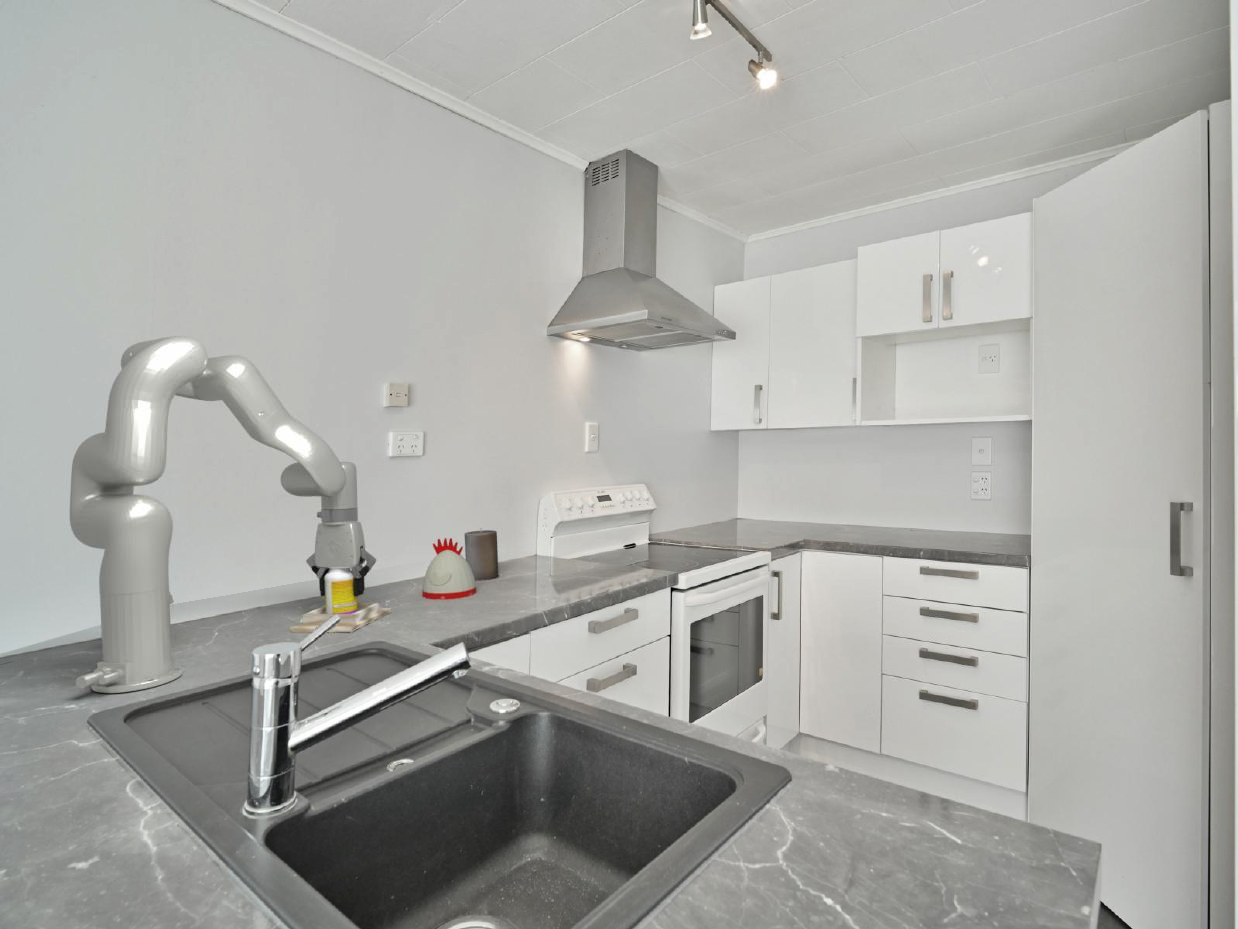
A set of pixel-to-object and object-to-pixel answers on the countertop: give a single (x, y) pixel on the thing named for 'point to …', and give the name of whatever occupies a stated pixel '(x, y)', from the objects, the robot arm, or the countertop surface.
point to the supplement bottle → (340, 592)
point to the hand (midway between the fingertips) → (342, 594)
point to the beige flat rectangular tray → (347, 621)
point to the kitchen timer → (448, 574)
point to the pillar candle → (482, 554)
